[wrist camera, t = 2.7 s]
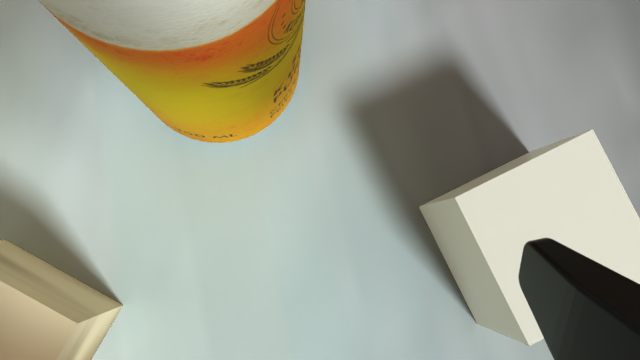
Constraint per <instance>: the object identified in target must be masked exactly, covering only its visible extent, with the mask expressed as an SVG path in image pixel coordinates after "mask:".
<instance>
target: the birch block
mask: <svg viewBox="0 0 640 360" xmlns="http://www.w3.org/2000/svg"><path fill="white" fill-rule="evenodd" d="M122 306H123V305H122V304H120V303H118V302H116V301H115V300H113V299H111V298H109V297H107V296H106V295H104V294H102V293H100V292H98V291H97V290H95V289H93V288H91V287H90V286H88V285H86V284H84V283H82V282H81V281H79V280H77V279H75V278H73V277H72V276H70V275H68V274H66V273H64V272H63V271H61V270H59V269H57V268H55V267H54V266H52V265H50V264H48V263H46V262H45V261H43V260H41V259H39V258H37V257H36V256H34V255H32V254H30V253H28V252H27V251H25V250H23V249H21V248H19V247H18V246H16V245H14V244H12V243H10V242H9V241H7V240H0V360H91V359H92V357H93V356H94V354H95V352H96V351H97V349H98V347H99V345H100V344H101V342H102V340H103V339H104V337H105V335H106V334H107V332H108V330H109V328H110V327H111V325H112V323H113V322H114V320H115V318H116V316H117V315H118V313H119V311H120V310H121V308H122Z"/></svg>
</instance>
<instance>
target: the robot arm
mask: <svg viewBox="0 0 640 360" xmlns="http://www.w3.org/2000/svg"><path fill="white" fill-rule="evenodd" d="M518 278H519V284H520V287H521V290H522V292H523V294H524V296H525V298H526V301H527V303H528V305H529V307H530V309H531V311H532V313H533V316H534V318H535V320H536V322H537V324H538V326H539V329H540V331H541V333H542V335H543V337H544V339H545V341H546V344H547V346H548V348H549V350H550V352H551V354H552V356H553V358H554V360H640V284H638V283H636V282H635V281H633V280H631V279H629V278H627V277H625V276H623V275H621V274H619V273H617V272H615V271H613V270H611V269H609V268H607V267H606V266H604V265H602V264H600V263H598V262H596V261H594V260H592V259H590V258H588V257H586V256H584V255H582V254H580V253H578V252H577V251H575V250H573V249H571V248H569V247H567V246H565V245H563V244H561V243H559V242H557V241H555V240H553V239H551V238H541V239H536V240H531V241H528V242H526V244H525V245H524V248H523V253H522V258H521V263H520V269H519V275H518Z"/></svg>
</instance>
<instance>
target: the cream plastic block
mask: <svg viewBox="0 0 640 360" xmlns="http://www.w3.org/2000/svg"><path fill="white" fill-rule="evenodd" d="M419 208H420V210H421V212H422V214H423V216H424V218H425V220H426V222H427V224H428V226H429V228H430V230H431V232H432V234H433V236H434V239H435V241H436V243H437V245H438V247H439V249H440V251H441V253H442V255H443V257H444V259H445V261H446V263H447V265H448V267H449V269H450V271H451V273H452V275H453V277H454V279H455V281H456V283H457V285H458V287H459V289H460V291H461V293H462V295H463V297H464V299H465V301H466V303H467V305H468V307H469V309H470V311H471V313H472V315H473V317H474V319H475V321H476V323H477V324H479V325H482V326H484V327H486V328H489V329H491V330H493V331H496V332H498V333H500V334H503V335H505V336H507V337H510V338H512V339H514V340H517V341H519V342H521V343H524V344H526V345H528V346H530V345H532V344H534V343H536V342H538V341H540V340H541V339H543V338H544V337H543V335H542V333H541V331H540V329H539V326H538V324H537V322H536V320H535V318H534V316H533V313H532V311H531V309H530V307H529V305H528V303H527V301H526V298H525V296H524V294H523V292H522V290H521V287H520V284H519V278H518V275H519V269H520V263H521V258H522V253H523V248H524V245H525V244H526V242H528V241H531V240H536V239H541V238H551V239H553V240H555V241H557V242H559V243H561V244H563V245H565V246H567V247H569V248H571V249H573V250H575V251H577V252H578V253H580V254H582V255H584V256H586V257H588V258H590V259H592V260H594V261H596V262H598V263H600V264H602V265H604V266H606V267H607V268H609V269H611V270H613V271H615V272H617V273H619V274H621V275H623V276H625V277H627V278H629V279H631V280H633V281H635V282H636V283H638V284H640V219H639V217H638V215H637V213H636V211H635V209H634V207H633V205H632V203H631V201H630V200H629V198H628V196H627V194H626V192H625V190H624V188H623V186H622V184H621V182H620V180H619V179H618V177H617V175H616V173H615V171H614V169H613V167H612V165H611V163H610V161H609V159H608V158H607V156H606V154H605V152H604V150H603V148H602V146H601V144H600V142H599V140H598V138H597V137H596V135H595V133H594V131H593V129H592V130H590V131H587V132H584V133H581V134H578V135H576V136H573V137H570V138H567V139H564V140H562V141H559V142H556V143H553V144H551V145H548V146H545V147H542V148H539V149H537V150H534V151H531V152H528V153H526V154H524V155H522V156H520V157H518V158H516V159H514V160H512V161H510V162H508V163H506V164H504V165H502V166H500V167H498V168H496V169H494V170H492V171H490V172H488V173H486V174H484V175H482V176H480V177H478V178H476V179H474V180H472V181H470V182H468V183H466V184H464V185H462V186H460V187H458V188H456V189H454V190H452V191H449V192H447V193H445V194H443V195H441V196H439V197H437V198H435V199H433V200H431V201H429V202H427V203H425V204H423V205H421V206H419Z"/></svg>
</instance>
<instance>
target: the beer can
mask: <svg viewBox="0 0 640 360" xmlns="http://www.w3.org/2000/svg"><path fill="white" fill-rule="evenodd" d="M38 1H39V2H41V3H42V4H43V5H44V6H45V7H46V8H47V9H48V10H49V11H50V12H51V13H52V14H53V15H54V16H55V17H56V18H57V19H58V20H59V21H60V22H61V23H62V24H63V25H64V26H65V27H66V28H67V29H68V30H69V31H70V32H71V33H72V34H73V35H74V36H75V37H76V38H77V39H78V40H79V41H80V42H81V43H83V44H84V45H85V46H86V47H87V48H88V49H89V50H90V51H91V52H92V53H93V54H94V55H95V56H96V57H97V58H98V59H99V60H100V61H101V62H102V63H103V64H104V65H105V66H106V67H107V68H108V69H109V70H110V71H111V72H112V73H113V74H114V75H115V76H116V77H117V78H118V79H119V80H120V81H121V82H122V83H124V84H125V85H126V86H127V87H128V88H129V89H130V90H131V91H132V92H133V93H134V94H135V95H136V96H137V97H138V98H139V99H140V100H141V101H142V102H143V103H144V104H145V105H146V106H147V107H148V108H149V109H150V110H151V111H152V112H153V113H154V114H155V115H156V116H157V117H158V118H159V119H160V120H162V121H163V122H164V123H165V124H166V125H167V126H169V127H170V128H172V129H173V130H175V131H176V132H178V133H180V134H182V135H184V136H187V137H189V138H192V139H196V140H199V141H205V142H214V143H223V142H232V141H237V140H241V139H244V138H247V137H250V136H252V135H254V134H256V133H258V132H260V131H261V130H263V129H265V128H266V127H267V126H269V125H270V124H271V123H272V122H274V121H275V120H276V119H277V118H278V117H279V116H280V114H281V113H282V112H283V111H284V109H285V108H286V106H287V105H288V103H289V102H290V100H291V97H292V95H293V93H294V90H295V88H296V85H297V80H298V75H299V64H300V53H301V43H302V32H303V21H304V11H305V0H38Z"/></svg>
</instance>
